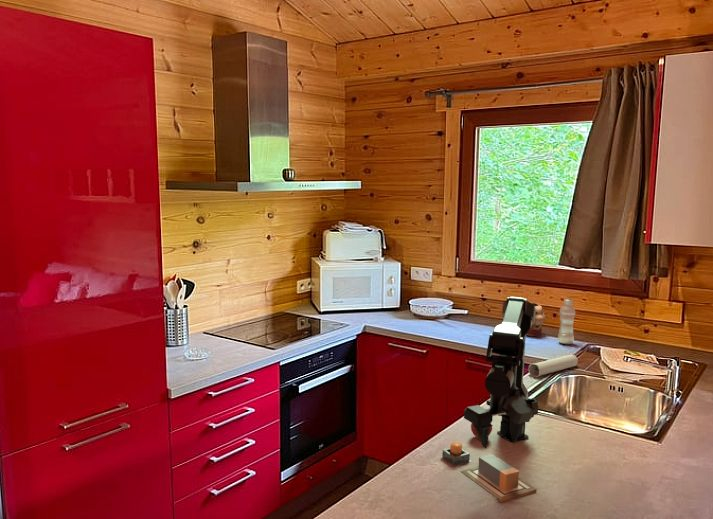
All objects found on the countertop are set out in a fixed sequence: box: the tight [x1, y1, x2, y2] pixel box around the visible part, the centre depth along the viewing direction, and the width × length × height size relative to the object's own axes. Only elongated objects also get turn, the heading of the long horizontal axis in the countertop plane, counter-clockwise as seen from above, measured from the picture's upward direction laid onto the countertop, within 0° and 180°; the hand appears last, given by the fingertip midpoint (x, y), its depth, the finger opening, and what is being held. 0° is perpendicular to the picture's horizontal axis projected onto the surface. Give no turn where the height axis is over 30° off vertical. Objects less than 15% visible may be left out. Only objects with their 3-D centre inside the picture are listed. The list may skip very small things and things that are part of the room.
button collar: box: [439, 447, 473, 467], centre depth 162 cm, size 6×6×2 cm
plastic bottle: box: [557, 297, 576, 345], centre depth 270 cm, size 6×7×20 cm
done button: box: [449, 441, 463, 456], centre depth 162 cm, size 3×3×2 cm
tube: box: [528, 354, 579, 378], centre depth 235 cm, size 5×5×25 cm
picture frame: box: [460, 465, 537, 503], centre depth 151 cm, size 11×15×1 cm
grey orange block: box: [477, 453, 520, 491], centre depth 151 cm, size 4×10×4 cm, turn 27°
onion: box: [470, 422, 493, 440], centre depth 174 cm, size 6×6×8 cm
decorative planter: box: [526, 302, 547, 337], centre depth 287 cm, size 20×12×14 cm, turn 26°
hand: (499, 444), depth 150 cm, fingers open, 9 cm apart
